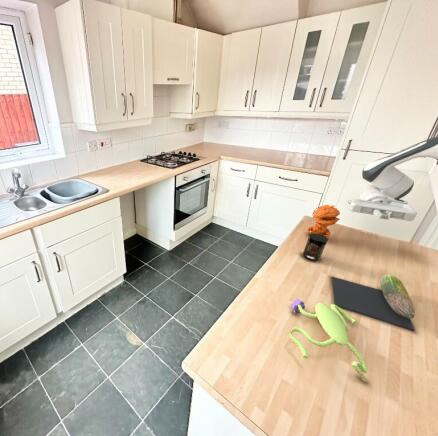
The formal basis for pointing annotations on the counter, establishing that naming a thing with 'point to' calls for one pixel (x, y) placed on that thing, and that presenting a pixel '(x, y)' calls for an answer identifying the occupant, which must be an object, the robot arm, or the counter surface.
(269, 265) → the counter surface
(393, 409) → the counter surface
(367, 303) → the mat
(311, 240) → the supplement container
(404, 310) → the vegetable
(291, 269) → the counter surface
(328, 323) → the figurine
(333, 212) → the toy dinosaur
